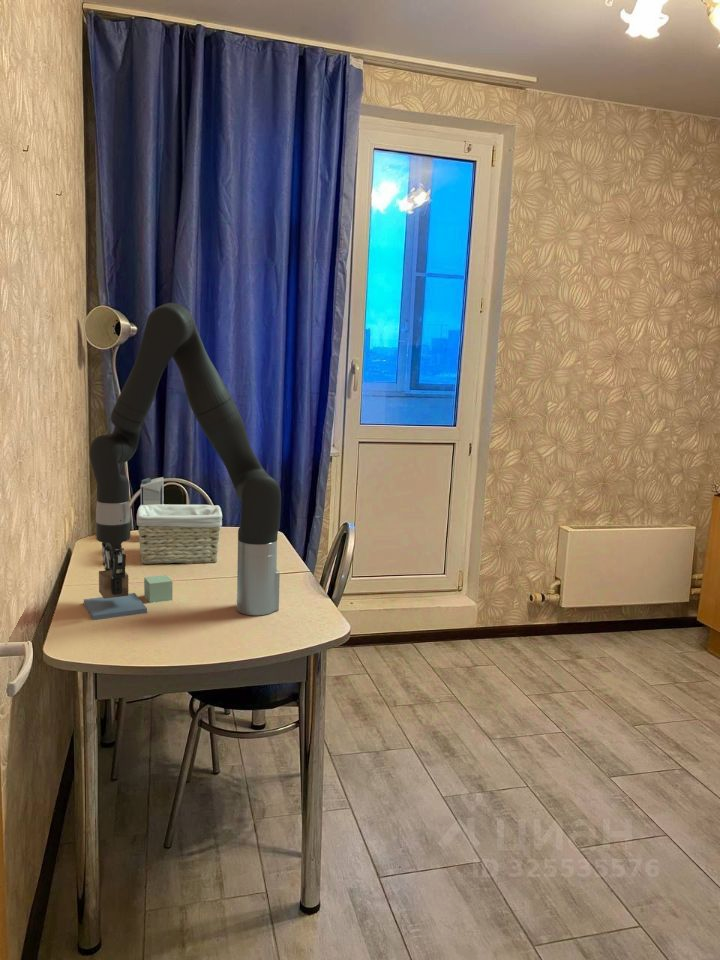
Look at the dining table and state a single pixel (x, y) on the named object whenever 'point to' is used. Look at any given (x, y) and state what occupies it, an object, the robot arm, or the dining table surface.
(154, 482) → the milk carton
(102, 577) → the walnut block
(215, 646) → the dining table surface
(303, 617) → the dining table surface
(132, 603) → the base board
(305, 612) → the dining table surface
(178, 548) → the storage basket
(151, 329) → the robot arm
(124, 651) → the dining table surface
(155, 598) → the sage green block
